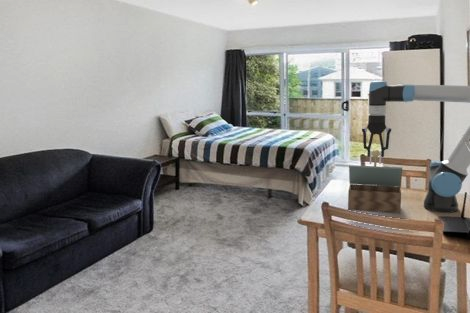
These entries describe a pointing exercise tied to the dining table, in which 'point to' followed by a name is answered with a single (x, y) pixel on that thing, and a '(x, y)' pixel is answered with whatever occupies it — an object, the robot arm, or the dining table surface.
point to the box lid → (375, 174)
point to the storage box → (374, 198)
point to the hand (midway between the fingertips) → (375, 163)
